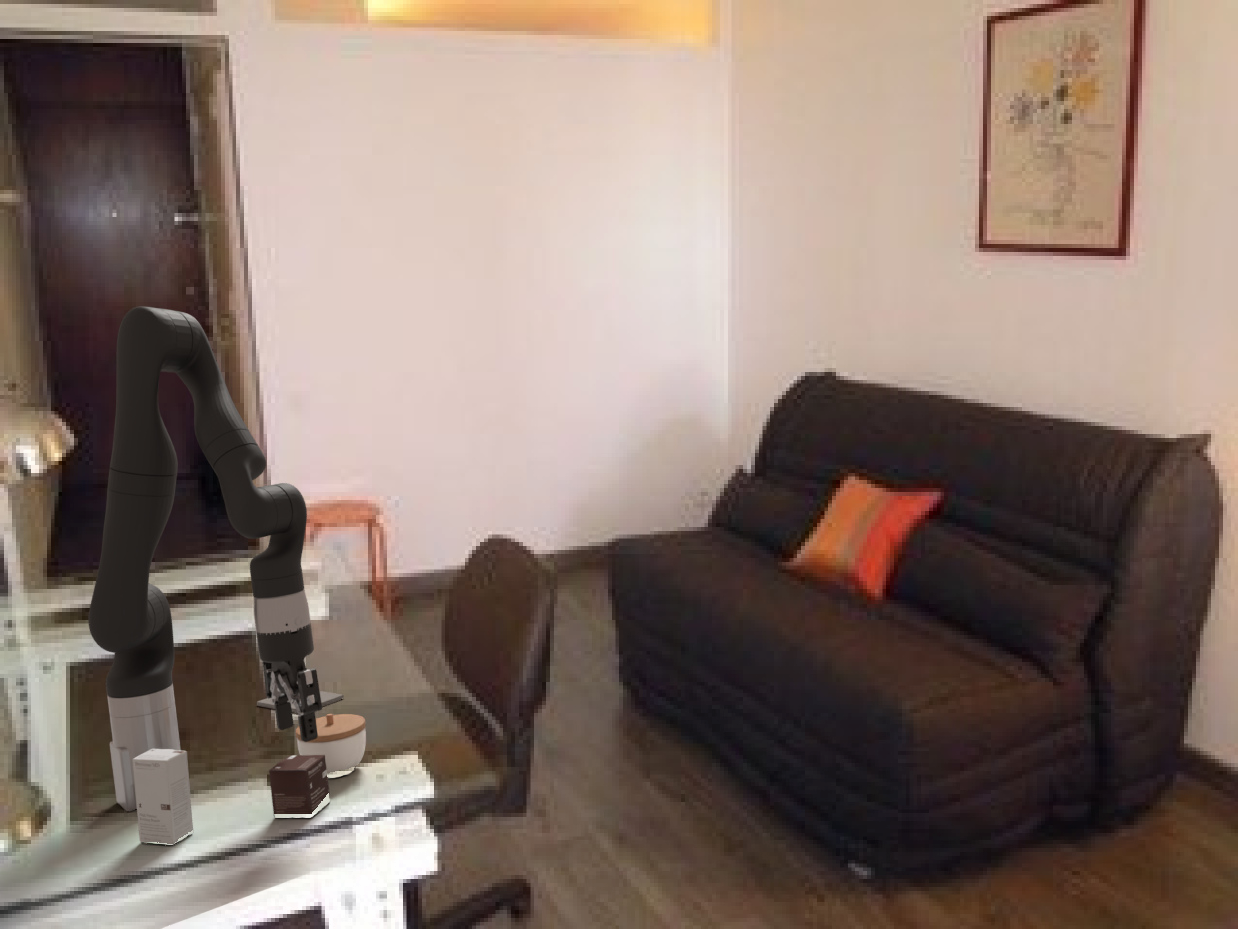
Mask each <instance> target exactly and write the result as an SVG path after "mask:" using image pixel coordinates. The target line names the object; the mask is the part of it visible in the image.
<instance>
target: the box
mask: <svg viewBox="0 0 1238 929" xmlns="http://www.w3.org/2000/svg"><path fill="white" fill-rule="evenodd" d="M268 772H269V773H268V774H269V775H268V776H269V784H270V792H271V794H270V795H271V800H272V802H271V803H272V811H273V812H272V813H273V815H274V814H312V812H313V811H314V810H315V809H316V808H317V807H318V805H319V804H320V803H321V801H323V799H324V798H325V797H326V795H327V794H328V793H329V794H330V787H329V779H328V777H327V769H326V761H325V755H300V754H299V755H297V754H296V755H289V756H287V757H286V758H284V759H283V760H281V761H279V762H277V763H276V764H275V765H274V766H272V767H271V768H270V769H269V770H268Z"/></svg>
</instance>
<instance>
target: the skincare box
mask: <svg viewBox="0 0 1238 929" xmlns="http://www.w3.org/2000/svg"><path fill="white" fill-rule="evenodd" d="M132 761H133V771H134V783H135V794H136V806H137V810H136V813H137V814H136V815H137V824H138V825H137V826H138V836H139V842H140V843H141V842H157V843H158V842H159V843H167V844H174V843H175V842H177V841H178V839H179V838H181V837H183V836H184V835H186V834H188V832H191V831H192V830H193V831H194V822H193V813H192V801H191V788H190V787H191V786H190V778H189V777H190V776H189V764H188V751H186V750H182V749H181V750H173V749H151V750H149V751H147V752H145V753H143V754H141V755H139V756H137V757H135V758H134V759H133V760H132Z"/></svg>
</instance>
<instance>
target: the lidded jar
mask: <svg viewBox="0 0 1238 929" xmlns="http://www.w3.org/2000/svg"><path fill="white" fill-rule="evenodd" d="M315 718H316V725H317V733H318V737H317V738H316V739H314V740H311V741H308V742H304V741H302V740H301V735H300V727H299V726H297V728H296V729H295V738H296V742H297V749H298V754H299V755H325V761H326V769H327V773H330V772H335V771H339V770H345V769H349V768H351V767H355V766H356V765H357V766H358V765H359V764H360V763H361V761H362V759H363V757H364V754H365V750H366V744H367V733H366V726H367V725H366V724H367V723H366V718H365V717H363V716H361V715H359V714H350V713H349V714H348V713H342V714H341V713H340V714H334V713H328V714H326V715H324V716H321V717H315ZM357 766H356V767H357ZM356 767H355V768H356Z"/></svg>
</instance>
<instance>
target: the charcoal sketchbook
mask: <svg viewBox="0 0 1238 929" xmlns="http://www.w3.org/2000/svg"><path fill="white" fill-rule="evenodd" d="M319 691H320V697H321V704H322V708H323V707H325V706H328V705H331V704H334V703H336V702H339V701H342V700H343V699H342V698H344V699H345V696H344V694H339V693H335V692H329V691H322V690H319ZM313 699H314V695H313ZM341 699H342V700H341ZM287 702H289V701H287ZM300 703H301V701H300ZM307 703H308V701H307ZM308 705H309V704H308ZM256 706H258V707H262V708H267V709H273V710H275V705H273V704H272V702H271V698H269V699H268V698H267V697H266V698H264V699H261V700H257V701H256ZM291 709H292V714H298V713H297V710H296V708H295V705H294V704H292V703H291Z"/></svg>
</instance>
